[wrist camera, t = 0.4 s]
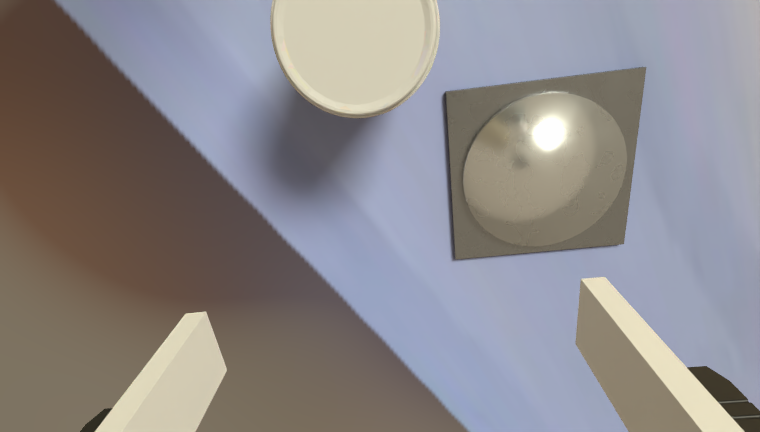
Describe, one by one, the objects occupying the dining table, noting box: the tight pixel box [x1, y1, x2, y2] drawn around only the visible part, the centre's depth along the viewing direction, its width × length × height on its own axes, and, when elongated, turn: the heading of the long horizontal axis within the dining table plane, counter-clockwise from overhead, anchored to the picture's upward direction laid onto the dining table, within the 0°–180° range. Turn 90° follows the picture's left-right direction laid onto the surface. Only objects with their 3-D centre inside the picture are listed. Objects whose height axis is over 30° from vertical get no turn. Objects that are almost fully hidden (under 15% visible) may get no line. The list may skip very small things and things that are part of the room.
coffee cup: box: [270, 0, 440, 118], centre depth 27 cm, size 9×9×12 cm
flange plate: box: [446, 67, 646, 259], centre depth 36 cm, size 16×16×1 cm
